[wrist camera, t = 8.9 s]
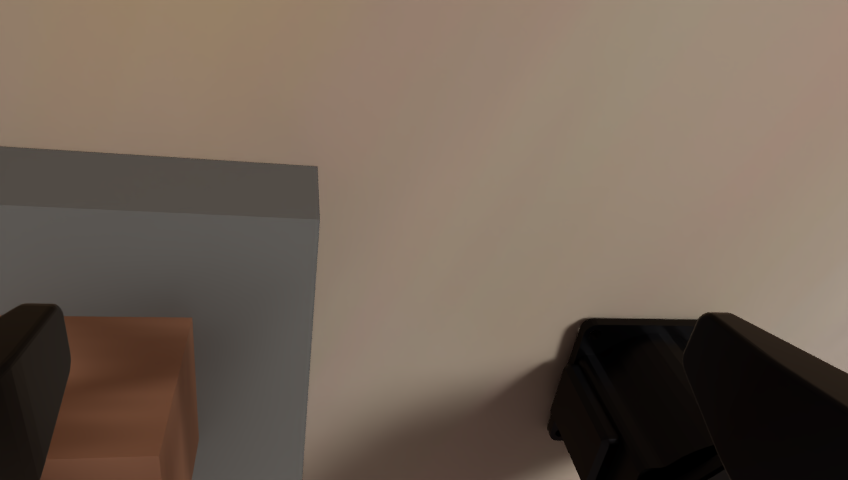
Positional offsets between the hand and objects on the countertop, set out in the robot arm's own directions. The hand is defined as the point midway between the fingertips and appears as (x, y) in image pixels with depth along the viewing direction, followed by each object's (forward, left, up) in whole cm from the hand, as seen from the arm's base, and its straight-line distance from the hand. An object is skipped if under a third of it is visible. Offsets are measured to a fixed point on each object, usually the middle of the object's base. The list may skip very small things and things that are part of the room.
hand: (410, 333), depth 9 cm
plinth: (+7, +9, -12) cm, 16 cm away
